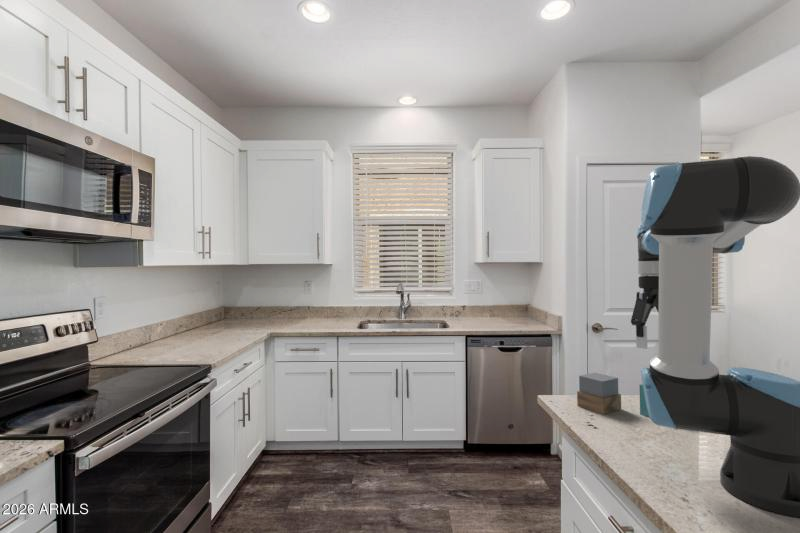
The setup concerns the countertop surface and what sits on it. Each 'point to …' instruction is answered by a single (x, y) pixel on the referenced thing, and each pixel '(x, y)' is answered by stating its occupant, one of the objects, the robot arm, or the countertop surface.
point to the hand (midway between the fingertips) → (654, 345)
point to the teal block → (643, 402)
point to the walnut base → (599, 402)
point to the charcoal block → (598, 385)
